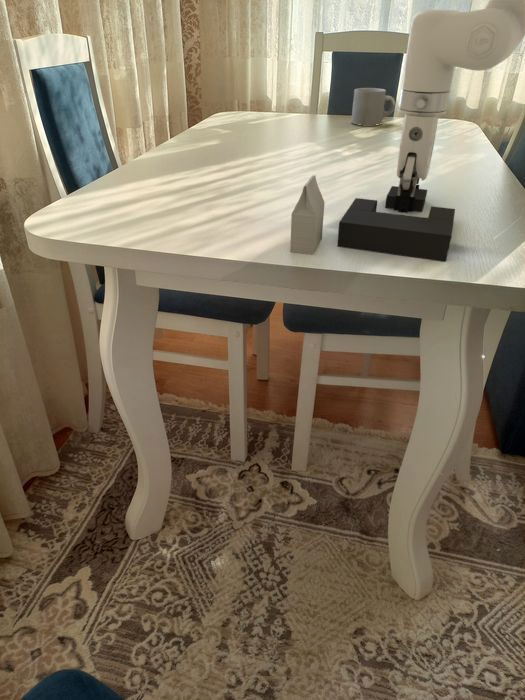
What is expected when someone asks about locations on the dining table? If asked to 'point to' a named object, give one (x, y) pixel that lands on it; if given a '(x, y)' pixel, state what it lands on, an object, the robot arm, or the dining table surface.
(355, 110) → the coffee mug
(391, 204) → the small pad
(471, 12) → the robot arm
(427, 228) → the big black notched block
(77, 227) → the dining table surface
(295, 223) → the grey milk carton
